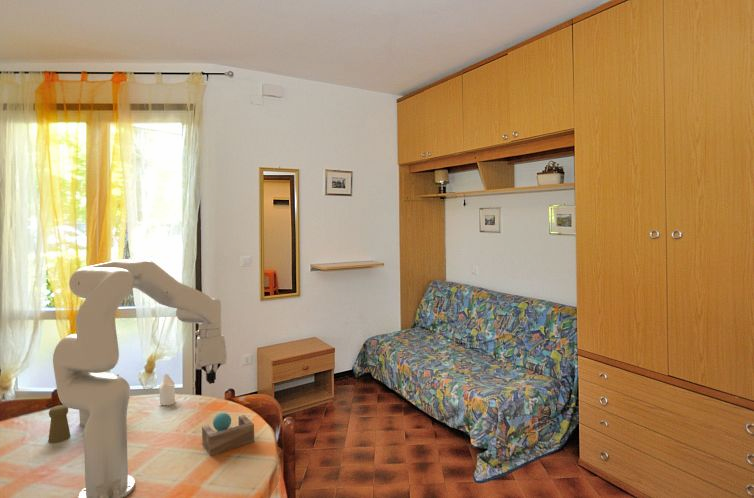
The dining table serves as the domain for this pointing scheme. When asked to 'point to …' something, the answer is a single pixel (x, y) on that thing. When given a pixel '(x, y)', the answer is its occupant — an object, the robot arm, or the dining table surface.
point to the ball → (222, 421)
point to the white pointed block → (167, 391)
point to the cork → (58, 424)
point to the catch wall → (228, 436)
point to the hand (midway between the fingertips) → (211, 382)
